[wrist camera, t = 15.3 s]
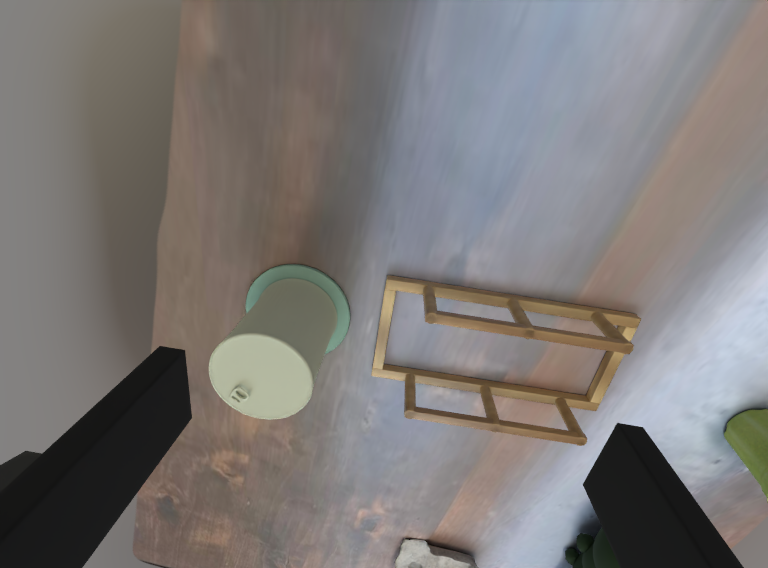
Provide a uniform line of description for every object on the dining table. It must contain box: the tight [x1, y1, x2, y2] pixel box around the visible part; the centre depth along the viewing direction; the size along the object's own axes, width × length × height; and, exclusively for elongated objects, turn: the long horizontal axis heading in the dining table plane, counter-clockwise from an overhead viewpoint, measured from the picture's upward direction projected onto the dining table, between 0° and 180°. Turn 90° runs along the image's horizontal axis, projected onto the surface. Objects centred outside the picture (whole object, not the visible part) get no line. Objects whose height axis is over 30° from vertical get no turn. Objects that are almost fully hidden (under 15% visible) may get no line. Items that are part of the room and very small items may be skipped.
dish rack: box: [371, 275, 641, 446], centre depth 40 cm, size 13×27×7 cm, turn 82°
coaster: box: [246, 264, 350, 354], centre depth 43 cm, size 12×12×1 cm
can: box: [209, 278, 337, 419], centre depth 37 cm, size 9×9×12 cm
